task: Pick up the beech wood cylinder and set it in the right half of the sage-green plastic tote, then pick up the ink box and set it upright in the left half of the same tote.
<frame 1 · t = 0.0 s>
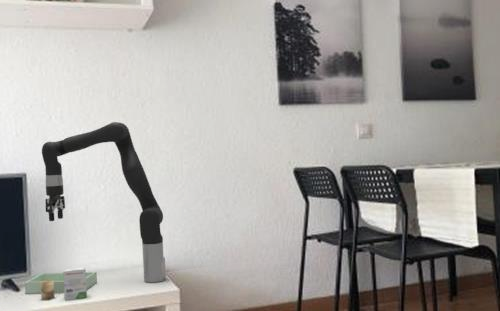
hand: (56, 219, 235), 29 cm above the tv stand, fingers open, 8 cm apart
beech cylinder: (48, 298, 210), on the tv stand
ink box: (76, 298, 209), on the tv stand
tote: (62, 288, 225), on the tv stand
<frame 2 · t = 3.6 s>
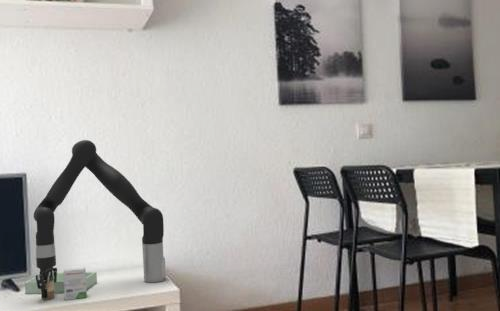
hand: (47, 295, 210), 1 cm above the tv stand, fingers closed on beech cylinder, 5 cm apart
beech cylinder: (48, 298, 210), on the tv stand, touching gripper
everything else where it was.
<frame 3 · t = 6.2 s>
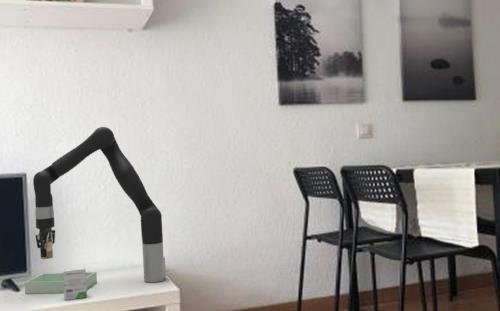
hand: (46, 255, 222), 15 cm above the tv stand, fingers closed on beech cylinder, 5 cm apart
beech cylinder: (46, 257, 222), point 14 cm above the tv stand, touching gripper
everything else where it was.
when the fingers open (3 cm above the tv stand, at t = 9.2 s): beech cylinder drops 2 cm, resting on tote.
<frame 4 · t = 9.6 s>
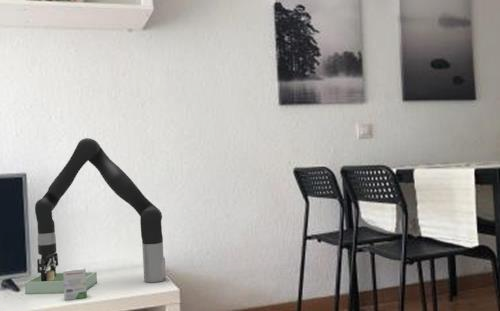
hand: (48, 279, 226), 4 cm above the tv stand, fingers open, 8 cm apart
beech cylinder: (49, 287, 226), point 1 cm above the tv stand, touching tote
everything else where it was.
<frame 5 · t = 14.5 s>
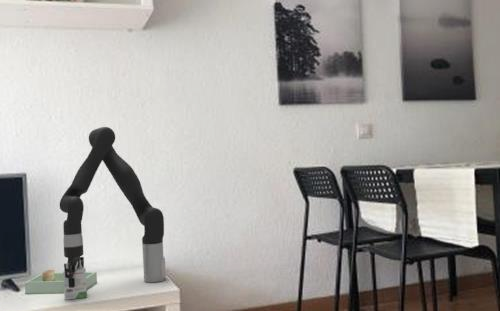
hand: (75, 285, 209), 5 cm above the tv stand, fingers closed on ink box, 6 cm apart
ink box: (76, 298, 209), on the tv stand, touching gripper
everything else where it was.
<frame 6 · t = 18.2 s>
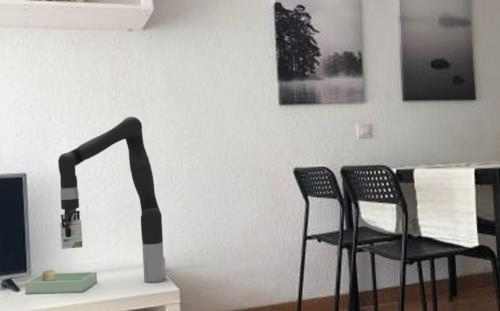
hand: (71, 235, 225), 23 cm above the tv stand, fingers closed on ink box, 6 cm apart
ink box: (72, 247, 225), point 18 cm above the tv stand, touching gripper
everything else where it was.
when the fingers open (7 cm above the tv stand, at t = 22.3 s): ink box drops 2 cm, resting on tote.
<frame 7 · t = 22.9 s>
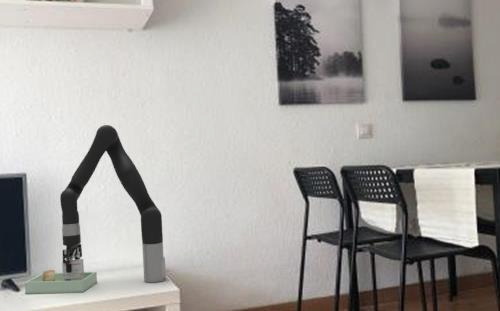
hand: (73, 270, 225), 8 cm above the tv stand, fingers open, 8 cm apart
ink box: (74, 287, 225), resting on tote
everything else where it was.
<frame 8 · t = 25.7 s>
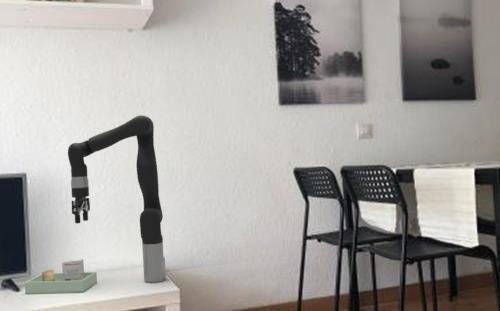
hand: (81, 221, 232), 28 cm above the tv stand, fingers open, 8 cm apart
nothing on the tv stand moved.
at the end: beech cylinder inside the target area on the tote (6.0 cm from its centre), point 0.7 cm above the tote's base; ink box inside the target area on the tote (5.6 cm from its centre), point 0.4 cm above the tote's base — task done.
